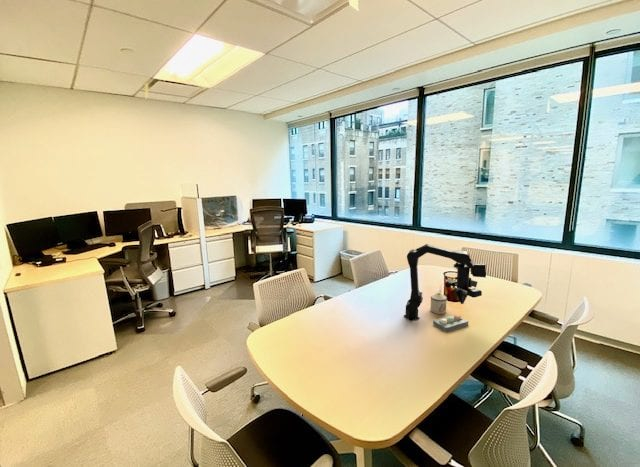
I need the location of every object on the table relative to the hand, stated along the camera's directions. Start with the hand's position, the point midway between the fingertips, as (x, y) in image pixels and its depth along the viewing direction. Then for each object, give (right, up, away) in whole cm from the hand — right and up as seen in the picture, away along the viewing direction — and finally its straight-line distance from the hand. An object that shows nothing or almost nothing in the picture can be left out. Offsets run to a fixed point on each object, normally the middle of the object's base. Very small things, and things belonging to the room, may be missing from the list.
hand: (462, 303), depth 157 cm
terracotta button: (0, -11, +5) cm, 13 cm away
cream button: (-9, -12, +2) cm, 16 cm away
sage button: (-5, -12, +3) cm, 13 cm away
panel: (-5, -12, +4) cm, 14 cm away
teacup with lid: (-4, -9, +21) cm, 23 cm away
